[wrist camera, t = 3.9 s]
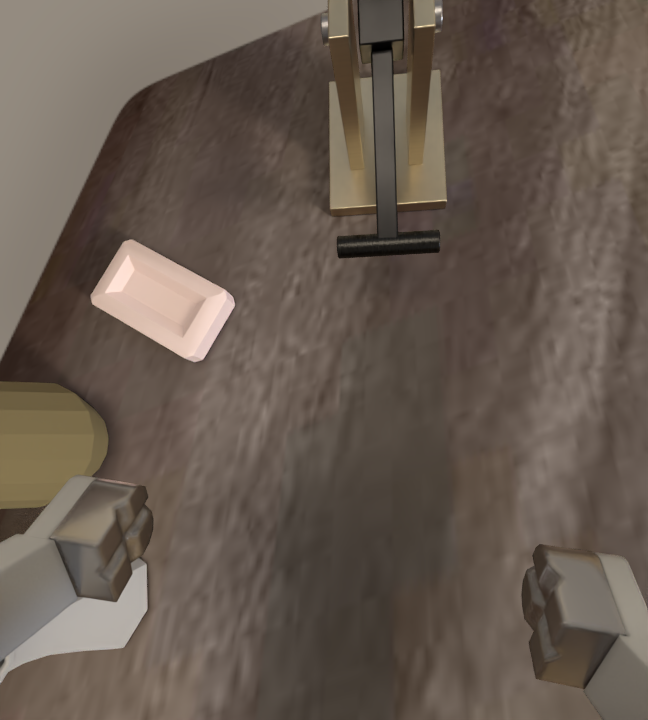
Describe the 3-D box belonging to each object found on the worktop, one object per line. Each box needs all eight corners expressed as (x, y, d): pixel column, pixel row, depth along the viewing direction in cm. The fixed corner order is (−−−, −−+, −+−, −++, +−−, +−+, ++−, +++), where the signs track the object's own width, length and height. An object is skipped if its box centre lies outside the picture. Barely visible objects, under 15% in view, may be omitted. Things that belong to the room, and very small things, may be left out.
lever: (437, 253, 28) (441, 251, 26) (340, 258, 29) (336, 257, 26) (433, -3, 26) (437, -30, 23) (328, 11, 26) (322, -14, 24)
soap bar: (201, 366, 35) (187, 360, 33) (104, 308, 37) (84, 299, 35) (239, 301, 36) (228, 291, 33) (141, 247, 37) (123, 234, 35)
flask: (70, 524, 35) (-58, 557, 25) (164, 552, 33) (67, 598, 24) (39, 631, 34) (-106, 708, 24) (134, 664, 32) (21, 760, 23)
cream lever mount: (445, 208, 34) (473, 76, 22) (331, 217, 36) (296, 95, 23) (439, 81, 36) (461, -111, 24) (330, 92, 37) (297, -85, 25)
